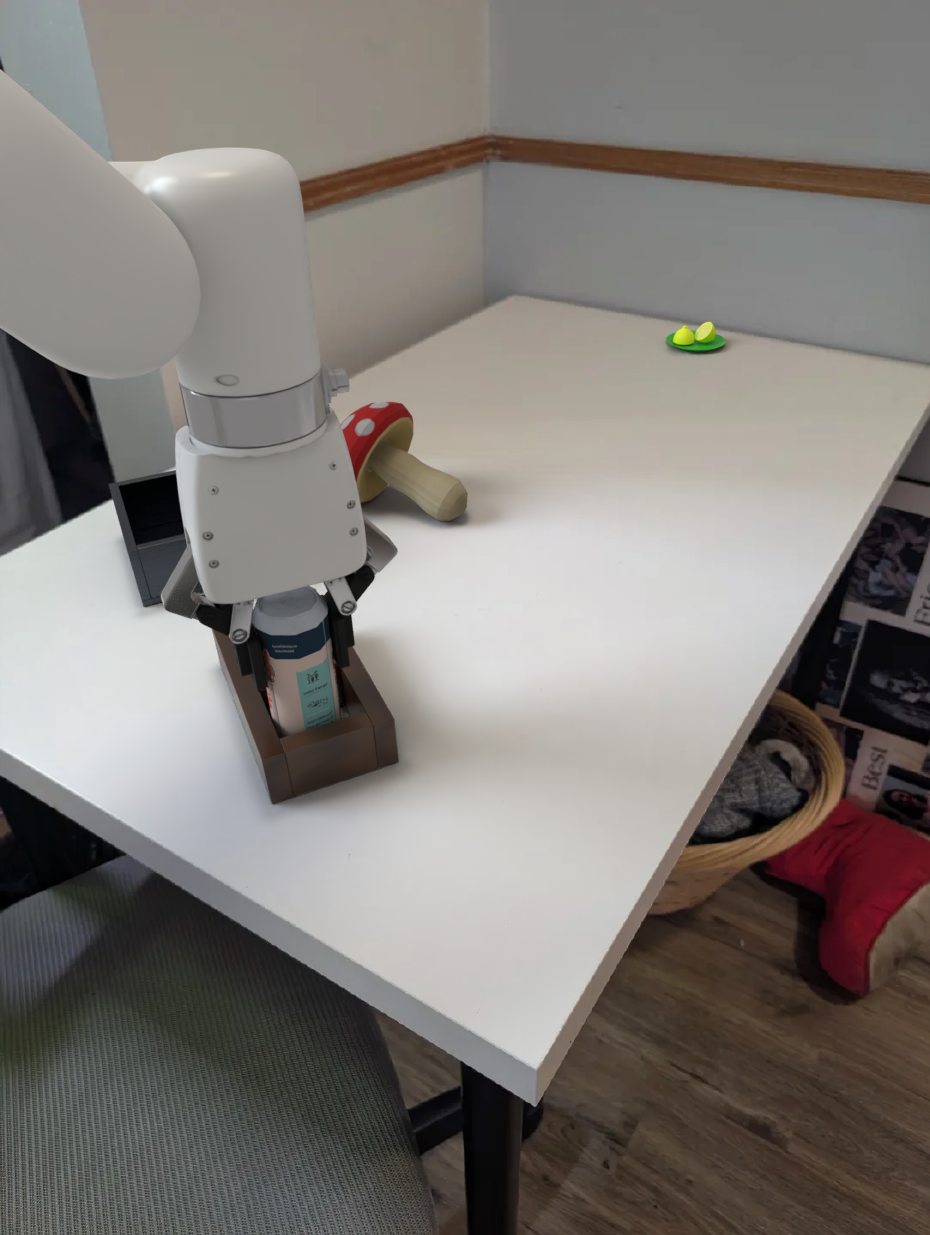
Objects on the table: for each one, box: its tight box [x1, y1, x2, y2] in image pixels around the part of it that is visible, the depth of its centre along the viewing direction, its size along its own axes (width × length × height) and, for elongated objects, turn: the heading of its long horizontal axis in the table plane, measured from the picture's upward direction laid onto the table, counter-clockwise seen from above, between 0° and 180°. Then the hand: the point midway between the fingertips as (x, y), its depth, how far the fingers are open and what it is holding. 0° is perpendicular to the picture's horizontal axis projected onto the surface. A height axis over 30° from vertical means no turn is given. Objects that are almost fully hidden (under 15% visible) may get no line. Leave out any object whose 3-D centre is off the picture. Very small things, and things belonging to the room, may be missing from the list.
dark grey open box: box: [108, 469, 204, 607], centre depth 85 cm, size 14×14×6 cm
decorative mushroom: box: [340, 401, 468, 522], centre depth 90 cm, size 11×11×15 cm
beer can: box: [252, 585, 343, 739], centre depth 61 cm, size 5×5×12 cm
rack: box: [211, 594, 400, 805], centre depth 66 cm, size 9×16×4 cm, turn 24°
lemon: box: [665, 321, 727, 353], centre depth 126 cm, size 8×8×3 cm
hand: (298, 665), depth 60 cm, fingers closed on beer can, 4 cm apart
